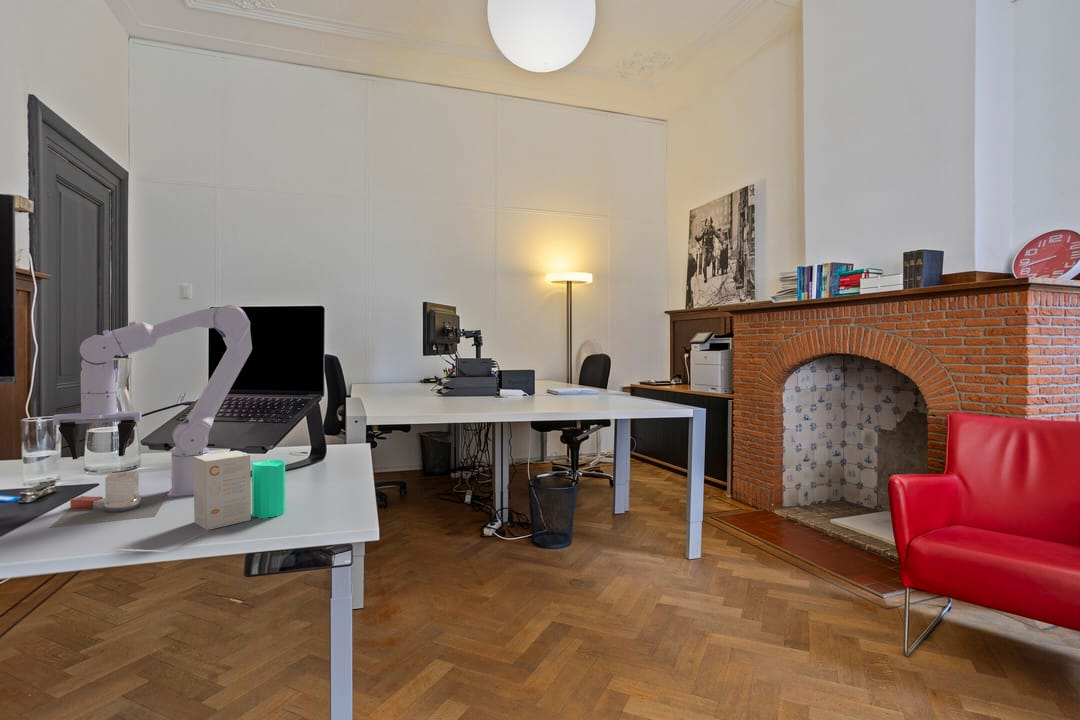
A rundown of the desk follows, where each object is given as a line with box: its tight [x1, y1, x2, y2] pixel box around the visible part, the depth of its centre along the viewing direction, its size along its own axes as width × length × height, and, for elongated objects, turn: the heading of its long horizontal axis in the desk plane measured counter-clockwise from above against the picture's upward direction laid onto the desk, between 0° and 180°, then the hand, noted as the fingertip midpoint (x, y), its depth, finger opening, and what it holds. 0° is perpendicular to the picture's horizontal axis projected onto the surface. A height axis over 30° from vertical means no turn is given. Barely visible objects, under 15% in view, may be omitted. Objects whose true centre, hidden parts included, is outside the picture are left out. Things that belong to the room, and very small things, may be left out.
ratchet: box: [69, 495, 142, 513], centre depth 112 cm, size 13×6×5 cm, turn 87°
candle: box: [251, 454, 286, 519], centre depth 111 cm, size 6×6×12 cm
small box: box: [193, 450, 252, 531], centre depth 105 cm, size 8×6×13 cm
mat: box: [48, 495, 168, 529], centre depth 111 cm, size 16×16×1 cm
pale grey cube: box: [104, 470, 140, 503], centre depth 112 cm, size 5×5×5 cm
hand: (99, 456), depth 116 cm, fingers open, 7 cm apart
